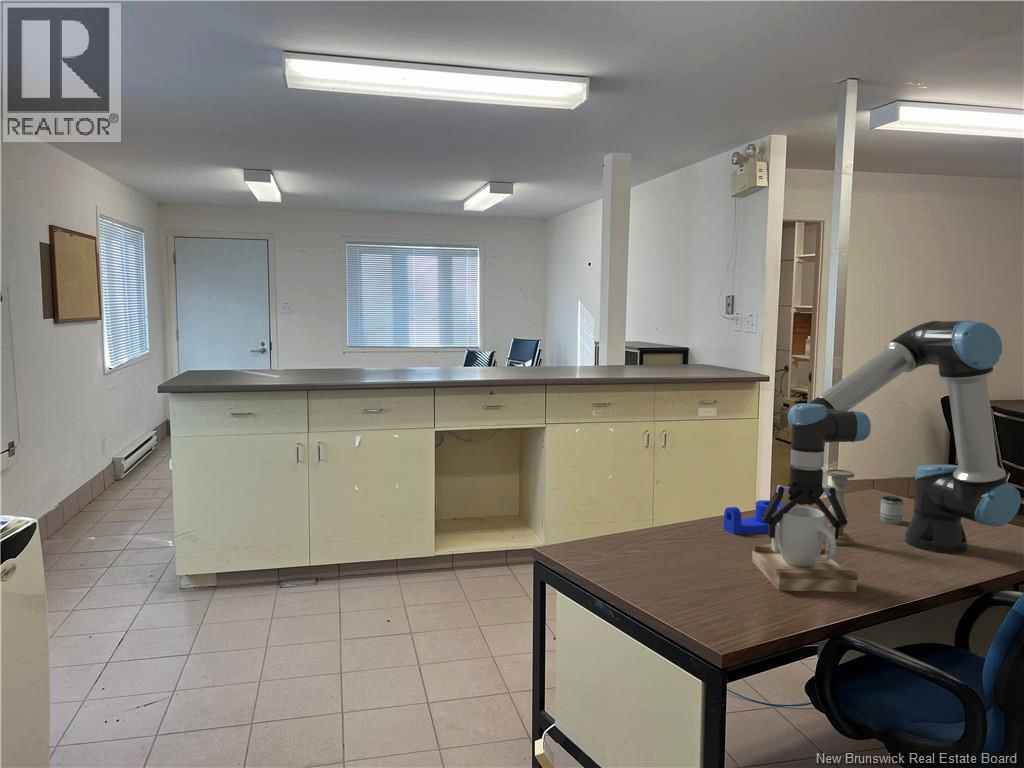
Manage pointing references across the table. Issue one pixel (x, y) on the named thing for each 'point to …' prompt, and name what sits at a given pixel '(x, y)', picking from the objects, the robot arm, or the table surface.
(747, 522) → the bracket
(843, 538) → the candle holder
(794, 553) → the mug
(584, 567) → the table surface
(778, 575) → the wooden tray
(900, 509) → the camera lens
